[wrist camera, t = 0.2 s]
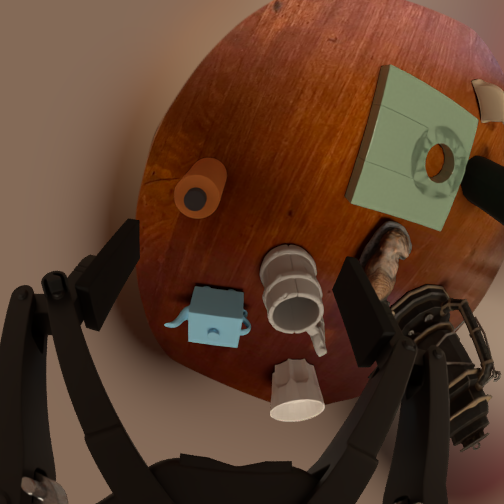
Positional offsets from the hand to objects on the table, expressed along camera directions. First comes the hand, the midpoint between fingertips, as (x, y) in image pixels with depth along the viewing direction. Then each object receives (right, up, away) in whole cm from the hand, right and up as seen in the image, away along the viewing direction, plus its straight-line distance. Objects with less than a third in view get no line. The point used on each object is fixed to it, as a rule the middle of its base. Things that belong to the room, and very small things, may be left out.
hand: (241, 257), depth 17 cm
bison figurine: (+19, 0, +21) cm, 28 cm away
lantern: (+32, -12, +28) cm, 44 cm away
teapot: (-5, -7, +25) cm, 26 cm away
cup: (+9, -23, +35) cm, 43 cm away
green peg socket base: (+22, +14, +13) cm, 29 cm away
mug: (+7, -3, +23) cm, 24 cm away
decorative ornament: (+35, +23, +7) cm, 43 cm away
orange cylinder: (-4, +10, +15) cm, 18 cm away
